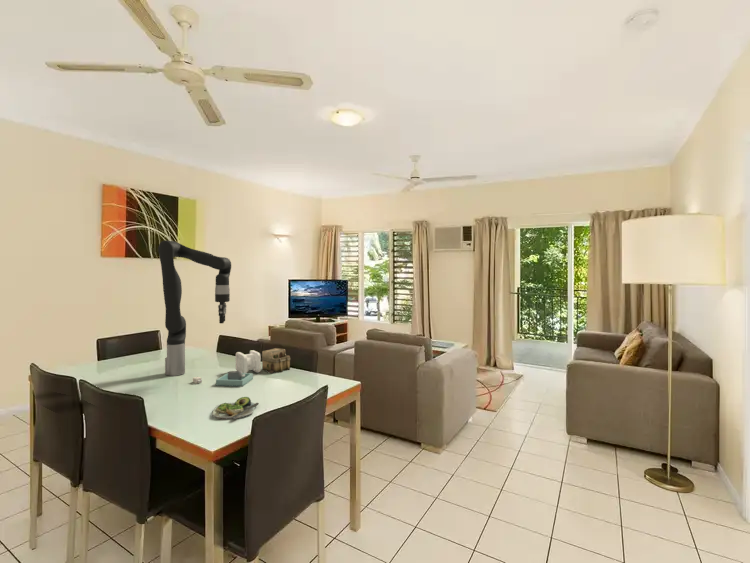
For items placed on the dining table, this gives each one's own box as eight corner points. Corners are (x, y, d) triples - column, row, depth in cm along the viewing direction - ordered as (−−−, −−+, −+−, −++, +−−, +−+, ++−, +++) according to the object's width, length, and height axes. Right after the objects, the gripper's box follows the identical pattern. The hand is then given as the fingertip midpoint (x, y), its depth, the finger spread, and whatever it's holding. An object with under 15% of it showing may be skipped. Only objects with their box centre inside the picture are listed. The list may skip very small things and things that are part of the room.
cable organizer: (261, 374, 223) (261, 353, 222) (243, 376, 216) (243, 356, 216) (252, 368, 235) (252, 349, 234) (234, 371, 228) (234, 351, 228)
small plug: (192, 382, 205) (192, 377, 205) (197, 381, 207) (197, 376, 207) (197, 384, 201) (197, 379, 201) (202, 383, 203) (202, 378, 203)
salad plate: (255, 421, 154) (255, 409, 153) (207, 424, 150) (207, 412, 150) (259, 404, 173) (259, 394, 172) (216, 407, 169) (217, 396, 169)
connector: (227, 382, 203) (227, 372, 203) (228, 380, 206) (228, 371, 206) (244, 381, 205) (244, 371, 205) (245, 379, 208) (245, 370, 208)
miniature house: (257, 370, 230) (257, 351, 230) (274, 365, 242) (274, 347, 242) (275, 374, 223) (275, 354, 222) (292, 369, 235) (292, 350, 234)
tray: (215, 385, 199) (215, 379, 199) (227, 378, 213) (227, 372, 213) (242, 386, 198) (242, 380, 198) (252, 378, 212) (252, 373, 212)
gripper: (228, 293, 210) (228, 323, 211) (230, 292, 224) (230, 320, 224) (213, 294, 208) (213, 324, 209) (216, 292, 222) (216, 320, 222)
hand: (222, 322), depth 216 cm, fingers open, 8 cm apart
